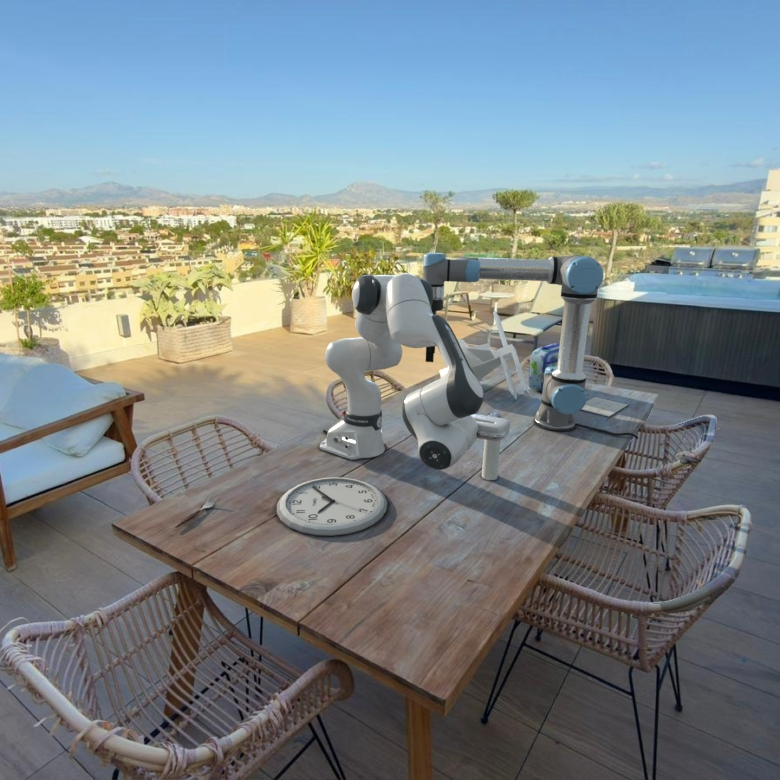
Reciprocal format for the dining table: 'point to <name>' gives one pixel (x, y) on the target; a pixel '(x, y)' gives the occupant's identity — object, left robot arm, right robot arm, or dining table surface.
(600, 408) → the invitation card
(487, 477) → the bottle
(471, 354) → the white plastic object
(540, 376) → the lunch box
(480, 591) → the dining table surface
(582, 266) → the right robot arm
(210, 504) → the fork
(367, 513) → the wall clock
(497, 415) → the cap
